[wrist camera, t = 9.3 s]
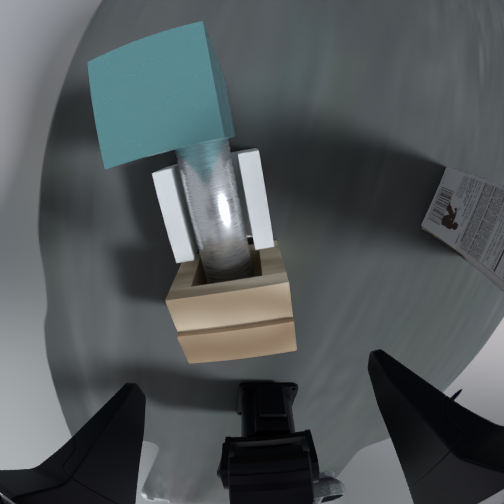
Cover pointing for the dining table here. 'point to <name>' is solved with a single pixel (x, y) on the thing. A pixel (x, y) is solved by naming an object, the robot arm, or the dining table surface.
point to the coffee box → (470, 221)
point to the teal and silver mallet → (177, 132)
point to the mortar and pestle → (328, 488)
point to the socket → (233, 310)
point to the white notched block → (250, 199)
